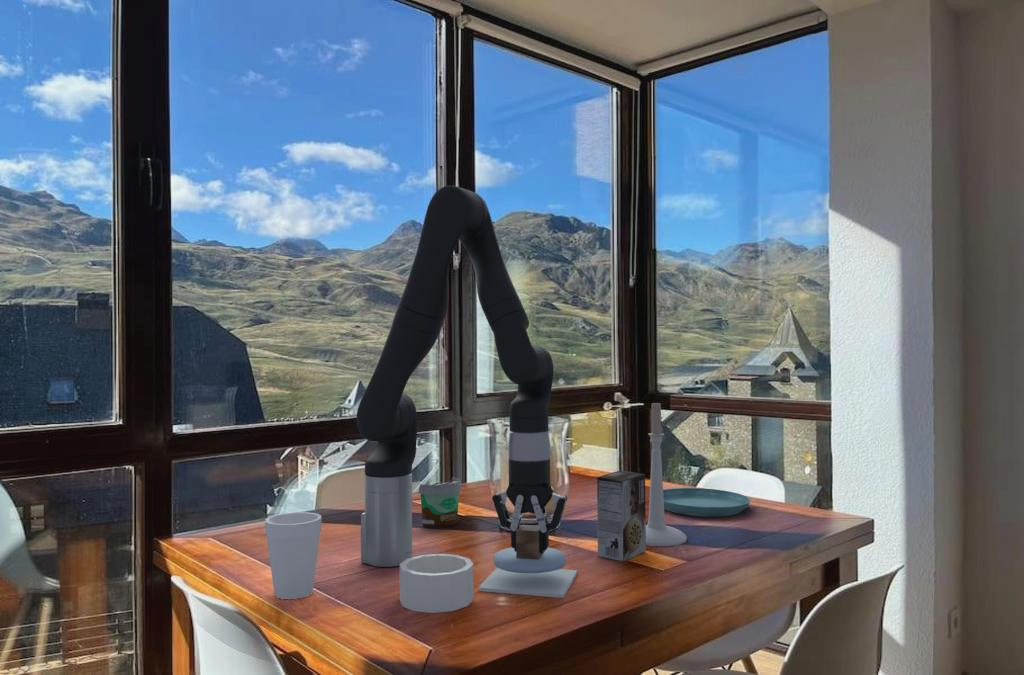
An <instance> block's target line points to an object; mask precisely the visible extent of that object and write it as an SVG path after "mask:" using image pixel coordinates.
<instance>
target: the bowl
mask: <svg viewBox="0 0 1024 675" xmlns="http://www.w3.org/2000/svg"><path fill="white" fill-rule="evenodd" d="M474 587H475V586H474V563H473V561H472V560H471V559H470V558H469V557H465V556H461V555H458V554H447V553H433V554H431V553H430V554H421V555H418V556H414V557H413V556H412V558H409V559H406V560H405V561H403V562H402V563H401V564H400V565H399V602H400V604H401V607H402V608H405V609H407V610H409V611H412V612H416V613H417V612H419V613H429V614H430V613H431V614H437V613H446V612H455V611H458V610H460V609H463V608H466V607H468V606H469V605H470V604H471V603H472V602H473V601H474V599H475V598H474V595H475V594H474V592H475V591H474Z"/></svg>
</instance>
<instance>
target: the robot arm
mask: <svg viewBox="0 0 1024 675" xmlns="http://www.w3.org/2000/svg"><path fill="white" fill-rule="evenodd" d="M422 224H423V225H422V229H421V233H420V237H419V240H418V245H417V249H416V253H415V257H414V259H413V260H412V261H413V262H412V265H411V267H410V269H409V270H410V271H409V274H408V276H407V277H408V278H407V280H406V283H405V286H404V288H403V291H402V294H401V296H400V300H399V302H398V304H397V308H396V310H395V312H394V313H395V314H394V316H393V319H392V322H391V326H390V328H389V329H390V330H389V331H388V334H387V337H386V339H385V342H384V345H383V349H382V352H381V354H380V357H379V359H378V363H377V364H376V367H375V369H374V371H373V374H372V376H371V379H370V380H369V382H368V384H367V387H366V389H365V391H364V392H363V395H362V396H361V399H360V402H359V405H358V408H357V410H356V411H357V412H356V426H357V429H358V432H359V434H360V435H361V436H362V437H363V438H364V439H365V440H367V441H371V442H377V444H376V447H375V449H374V451H373V453H371V454H370V455H369V456H368V458H367V459H365V462H364V512H362V513H361V514H360V563H362V564H366V565H369V566H372V567H377V568H378V567H379V568H381V567H382V568H388V567H389V568H390V567H392V568H393V567H398V566H399V567H400V564H401V563H402V562H403V561H405V560H406V559H409V558H413V463H414V461H415V459H416V456H417V455H416V454H417V441H418V439H417V438H418V412H417V408H416V404H415V402H414V401H413V399H412V397H410V395H408V394H407V393H405V392H404V390H405V388H406V387H407V386H406V385H407V384H408V381H409V379H410V378H411V376H412V375H413V373H415V372H414V371H415V370H416V369H417V368H418V366H420V365H421V363H422V362H423V360H424V359H425V358H426V357H427V355H428V354H429V352H431V350H432V349H433V347H434V346H435V344H436V342H437V340H438V337H439V335H440V333H441V331H442V328H443V325H444V322H445V319H446V316H447V313H448V309H449V298H450V297H449V293H450V292H449V270H450V264H451V261H452V258H453V254H454V253H455V250H456V247H457V244H458V242H459V241H460V242H461V244H462V246H463V247H464V249H465V251H466V252H467V254H468V256H469V257H470V260H471V263H472V266H473V269H474V270H473V271H474V276H475V283H476V284H475V285H476V293H477V297H478V301H479V304H480V306H481V309H482V311H483V314H484V316H485V318H486V320H487V323H488V325H489V327H490V329H491V331H492V333H493V336H494V344H495V348H496V352H497V356H498V361H499V364H500V367H501V369H502V371H503V373H504V374H505V376H506V377H507V379H508V380H509V381H510V382H512V383H513V384H516V385H517V392H516V393H517V394H516V397H515V398H514V399H512V401H511V403H510V406H509V434H508V445H507V446H508V450H507V452H508V455H507V456H508V458H507V459H508V486H507V488H506V490H505V491H503V492H499V491H498V492H496V493H495V494H494V495H492V498H491V499H492V503H493V506H494V508H495V511H496V514H497V518H498V520H499V523H500V526H501V527H503V528H506V529H507V528H508V529H509V530H510V546H511V548H514V551H515V552H516V530H517V529H518V528H519V527H520V526H521V522H522V519H523V516H524V514H526V513H529V514H532V515H533V514H534V515H535V518H536V521H537V523H538V526H539V527H540V533H539V552H540V553H544V552H545V550H547V548H549V545H550V544H549V543H550V540H549V538H550V537H549V536H550V534H549V532H550V531H555V530H556V529H557V528H558V527H559V525H560V522H561V520H562V516H563V514H564V511H565V508H566V504H567V501H568V497H567V495H564V494H563V495H560V494H558V493H555V492H554V490H553V488H552V486H551V455H552V453H551V452H552V451H551V442H550V433H549V402H550V398H551V395H552V394H551V393H552V387H553V380H554V370H555V369H554V362H553V358H552V356H551V354H550V352H549V351H548V350H547V349H546V348H545V347H543V346H542V345H537V344H536V345H535V344H532V342H531V339H530V338H529V334H528V331H527V329H528V328H529V326H530V320H529V317H528V314H527V312H526V310H525V307H524V306H523V303H522V301H521V299H520V297H519V295H518V292H517V290H516V289H515V286H514V283H513V281H512V278H511V277H510V274H509V272H508V269H507V266H506V263H505V262H504V258H503V254H502V251H501V248H500V246H499V245H500V244H499V242H498V239H497V236H496V232H495V229H494V224H493V221H492V217H491V213H490V211H489V207H488V205H487V202H486V201H485V199H484V198H483V197H482V196H481V195H479V194H478V193H476V192H474V191H472V190H469V189H466V188H463V187H461V186H460V187H459V186H456V185H445V186H442V187H441V188H439V189H438V190H437V191H435V193H434V194H433V195H432V197H431V198H430V200H429V203H428V205H427V208H426V211H425V215H424V220H423V223H422ZM507 498H508V499H509V501H510V502H511V504H512V506H513V507H514V508H513V511H512V512H513V513H512V517H510V515H509V511H508V509H507V508H508V507H507V506H506V504H507V502H508V499H507ZM551 500H552V502H553V503H552V505H553V507H554V508H555V509H554V512H553V515H552V518H551V521H549V518H548V513H547V508H546V506H547V505H548V504H549V503H550V501H551Z"/></svg>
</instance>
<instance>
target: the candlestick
mask: <svg viewBox="0 0 1024 675" xmlns="http://www.w3.org/2000/svg"><path fill="white" fill-rule="evenodd" d="M661 405H662V404H661V403H660V402H659V403H658V402H655V403H654V402H653V403H651V433H647V434H648V437H650V439H649V442H650V443H651V445H652V448H651V461H650V465H651V466H650V480H649V481H650V483H649V504H648V520H647V521H648V522H647V523H646V546H648V547H675V546H679V545H683V544H685V543H686V542H687V540H688V537H687V535H686V533H684V532H683V531H681V530H680V529H677V528H676V527H672V526H669V525H667V524H666V520H665V509H664V499H663V490H664V484H663V467H662V466H663V465H662V450H661V444H662V442H663V437H664V436H665V433H662V414H661V413H662V410H661V409H662V406H661Z"/></svg>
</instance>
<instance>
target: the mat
mask: <svg viewBox="0 0 1024 675" xmlns="http://www.w3.org/2000/svg"><path fill="white" fill-rule="evenodd" d="M577 575H578V570H577V569H566V568H564V569H563V568H561V569H558V570H555V571H551V572H545V573H515V572H509V571H505V570H502V569H499V568H497V567H496V568H495V569H494V570H493V571H492V572H491V573H490V574H489V575H488V577H487V578H486V579H484V581H483V582H482V583H481V584H480V585H479V586H478V592H486V593H487V592H488V593H498V594H509V595H510V594H511V595H521V596H522V595H523V596H534V597H544V598H545V597H546V598H557V599H564V598H565V596H566V595H567V593H568V591H569V589H570V587H571V586H572V584H573V583H574V581H575V579H576V577H577Z"/></svg>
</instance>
